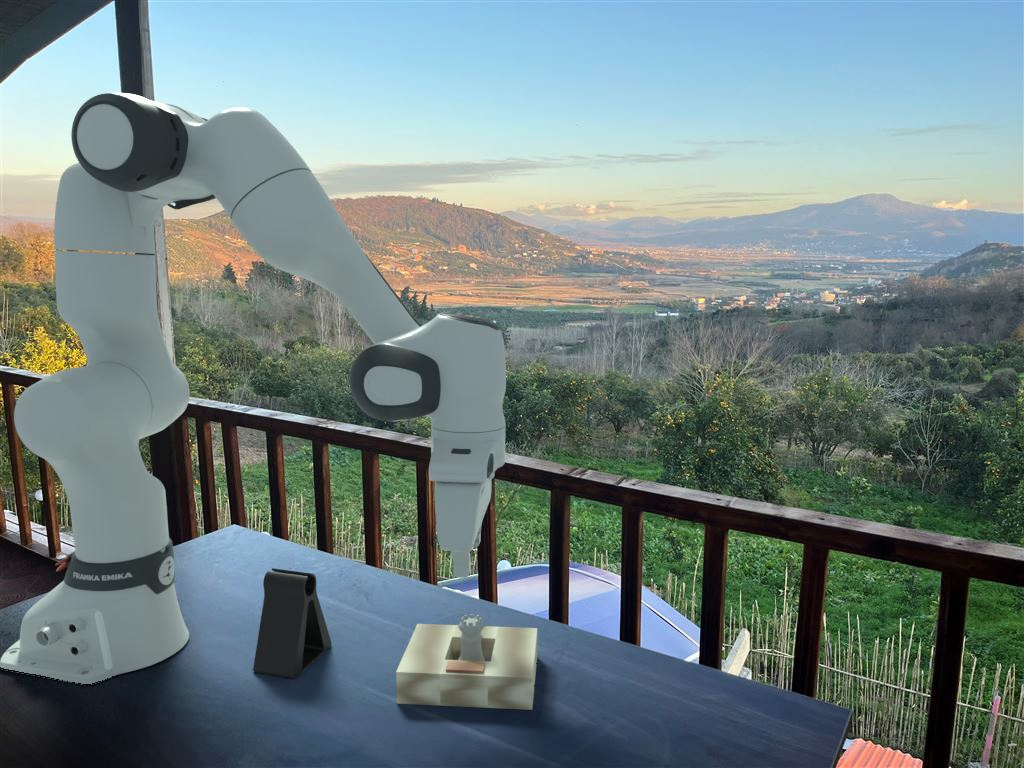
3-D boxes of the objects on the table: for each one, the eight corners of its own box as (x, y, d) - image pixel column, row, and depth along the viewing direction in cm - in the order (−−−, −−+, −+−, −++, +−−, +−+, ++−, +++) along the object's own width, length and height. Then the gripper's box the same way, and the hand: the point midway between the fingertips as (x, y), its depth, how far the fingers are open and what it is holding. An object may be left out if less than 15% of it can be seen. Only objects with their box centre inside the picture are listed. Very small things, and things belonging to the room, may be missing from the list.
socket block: (396, 703, 86) (396, 669, 85) (418, 651, 98) (417, 621, 97) (532, 709, 85) (532, 675, 84) (537, 656, 97) (537, 626, 96)
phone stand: (293, 639, 101) (289, 556, 100) (331, 645, 100) (328, 562, 98) (252, 672, 93) (247, 583, 91) (293, 680, 91) (289, 589, 89)
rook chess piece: (484, 690, 89) (484, 628, 88) (449, 686, 90) (448, 625, 88) (493, 671, 93) (493, 612, 92) (459, 667, 94) (458, 608, 93)
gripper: (455, 429, 97) (455, 529, 99) (425, 470, 77) (426, 593, 79) (502, 431, 97) (501, 530, 99) (484, 472, 77) (483, 596, 79)
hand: (467, 559), depth 89 cm, fingers open, 8 cm apart
